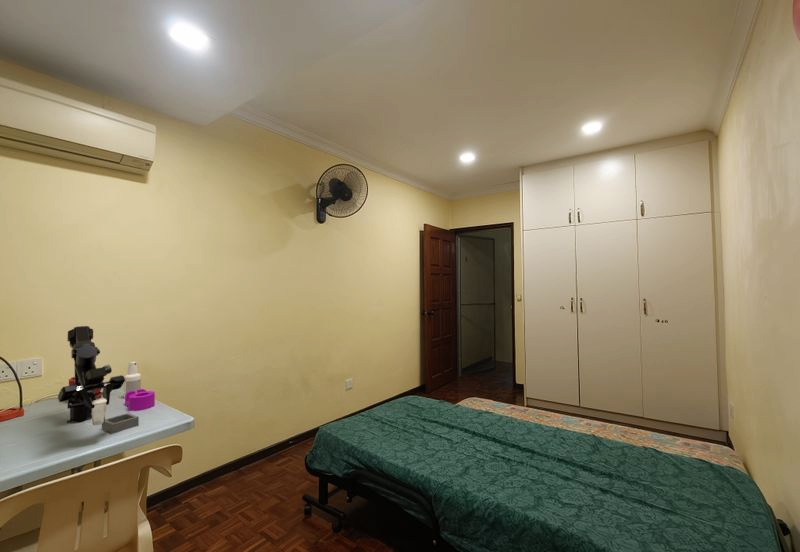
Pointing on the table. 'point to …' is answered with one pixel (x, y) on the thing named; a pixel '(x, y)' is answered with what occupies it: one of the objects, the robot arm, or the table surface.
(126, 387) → the spray bottle
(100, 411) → the milkshake
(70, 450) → the table surface
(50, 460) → the table surface
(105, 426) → the collar
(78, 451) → the table surface
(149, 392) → the tape dispenser
